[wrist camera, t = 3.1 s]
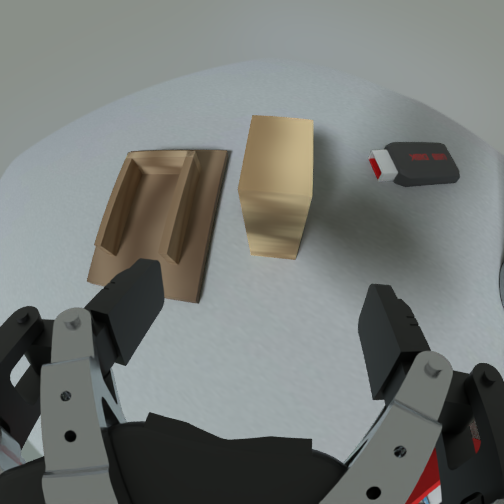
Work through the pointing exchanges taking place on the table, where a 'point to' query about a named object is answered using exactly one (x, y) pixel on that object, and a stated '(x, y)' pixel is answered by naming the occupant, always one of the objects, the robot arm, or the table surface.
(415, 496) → the toy clock
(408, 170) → the usb drive
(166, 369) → the table surface
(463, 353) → the table surface
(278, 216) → the oak plank
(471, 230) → the table surface
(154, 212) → the groove board
